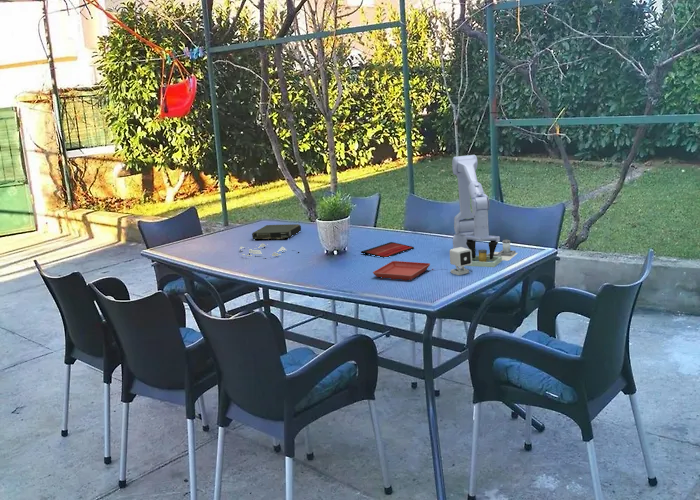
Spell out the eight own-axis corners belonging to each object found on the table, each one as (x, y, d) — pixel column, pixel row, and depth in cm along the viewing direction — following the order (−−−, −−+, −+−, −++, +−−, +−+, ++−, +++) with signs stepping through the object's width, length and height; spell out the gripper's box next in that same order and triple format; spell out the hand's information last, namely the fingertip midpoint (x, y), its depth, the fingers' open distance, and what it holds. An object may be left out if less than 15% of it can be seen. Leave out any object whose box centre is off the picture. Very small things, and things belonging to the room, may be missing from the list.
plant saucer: (411, 283, 274) (411, 275, 273) (372, 279, 284) (371, 272, 283) (431, 270, 289) (431, 263, 288) (393, 268, 298) (392, 260, 298)
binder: (360, 250, 326) (390, 241, 340) (360, 255, 326) (390, 246, 340) (385, 256, 314) (415, 246, 329) (386, 261, 315) (416, 250, 329)
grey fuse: (501, 255, 298) (501, 241, 296) (504, 253, 301) (503, 239, 299) (509, 255, 296) (508, 241, 295) (511, 253, 299) (511, 239, 298)
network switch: (250, 242, 376) (249, 233, 375) (263, 233, 399) (262, 224, 398) (292, 240, 372) (291, 231, 371) (302, 231, 395) (301, 222, 393)
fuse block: (481, 261, 294) (480, 256, 294) (491, 254, 305) (491, 249, 305) (508, 263, 288) (508, 258, 288) (518, 255, 299) (517, 250, 299)
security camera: (459, 276, 276) (458, 252, 274) (449, 273, 282) (448, 249, 280) (472, 273, 279) (471, 249, 276) (462, 270, 285) (461, 246, 283)
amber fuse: (477, 265, 287) (477, 251, 286) (480, 263, 290) (480, 249, 289) (485, 265, 286) (484, 251, 284) (488, 263, 288) (487, 249, 287)
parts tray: (463, 268, 287) (463, 261, 286) (472, 262, 295) (472, 255, 295) (494, 270, 280) (494, 262, 280) (502, 263, 289) (501, 256, 288)
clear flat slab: (305, 252, 343) (305, 245, 343) (266, 263, 328) (266, 256, 327) (263, 244, 369) (262, 238, 368) (225, 255, 353) (224, 248, 352)
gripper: (460, 227, 284) (462, 259, 287) (495, 228, 277) (496, 261, 280) (467, 223, 290) (468, 255, 293) (500, 224, 283) (502, 257, 286)
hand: (482, 258), depth 287 cm, fingers open, 7 cm apart
